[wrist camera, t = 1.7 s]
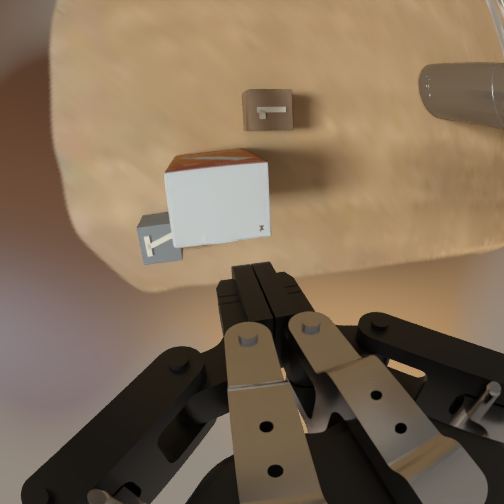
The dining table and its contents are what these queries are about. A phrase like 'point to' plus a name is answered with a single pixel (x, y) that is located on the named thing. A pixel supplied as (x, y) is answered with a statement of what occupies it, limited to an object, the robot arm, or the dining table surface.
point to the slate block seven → (157, 239)
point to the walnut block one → (267, 109)
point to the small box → (217, 198)
